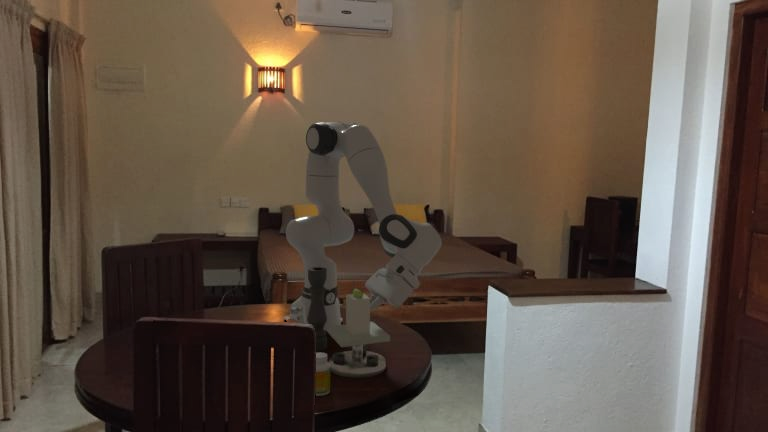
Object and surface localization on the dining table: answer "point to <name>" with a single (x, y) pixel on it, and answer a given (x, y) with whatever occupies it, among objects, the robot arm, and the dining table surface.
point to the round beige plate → (357, 363)
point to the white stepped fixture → (357, 323)
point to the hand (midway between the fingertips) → (368, 308)
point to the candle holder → (318, 305)
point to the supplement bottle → (322, 374)
